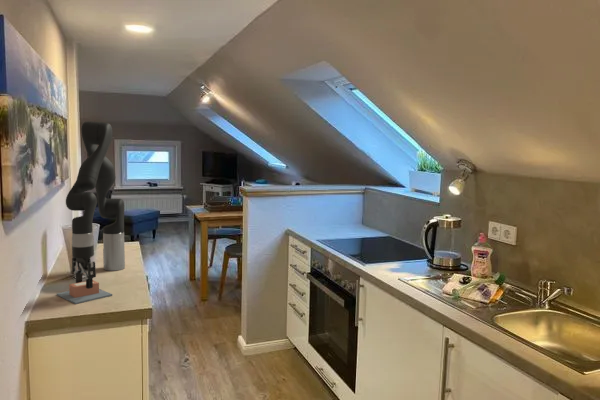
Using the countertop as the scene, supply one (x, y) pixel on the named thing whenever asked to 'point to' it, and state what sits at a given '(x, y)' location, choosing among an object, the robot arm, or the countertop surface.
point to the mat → (83, 298)
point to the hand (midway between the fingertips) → (84, 286)
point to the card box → (83, 289)
